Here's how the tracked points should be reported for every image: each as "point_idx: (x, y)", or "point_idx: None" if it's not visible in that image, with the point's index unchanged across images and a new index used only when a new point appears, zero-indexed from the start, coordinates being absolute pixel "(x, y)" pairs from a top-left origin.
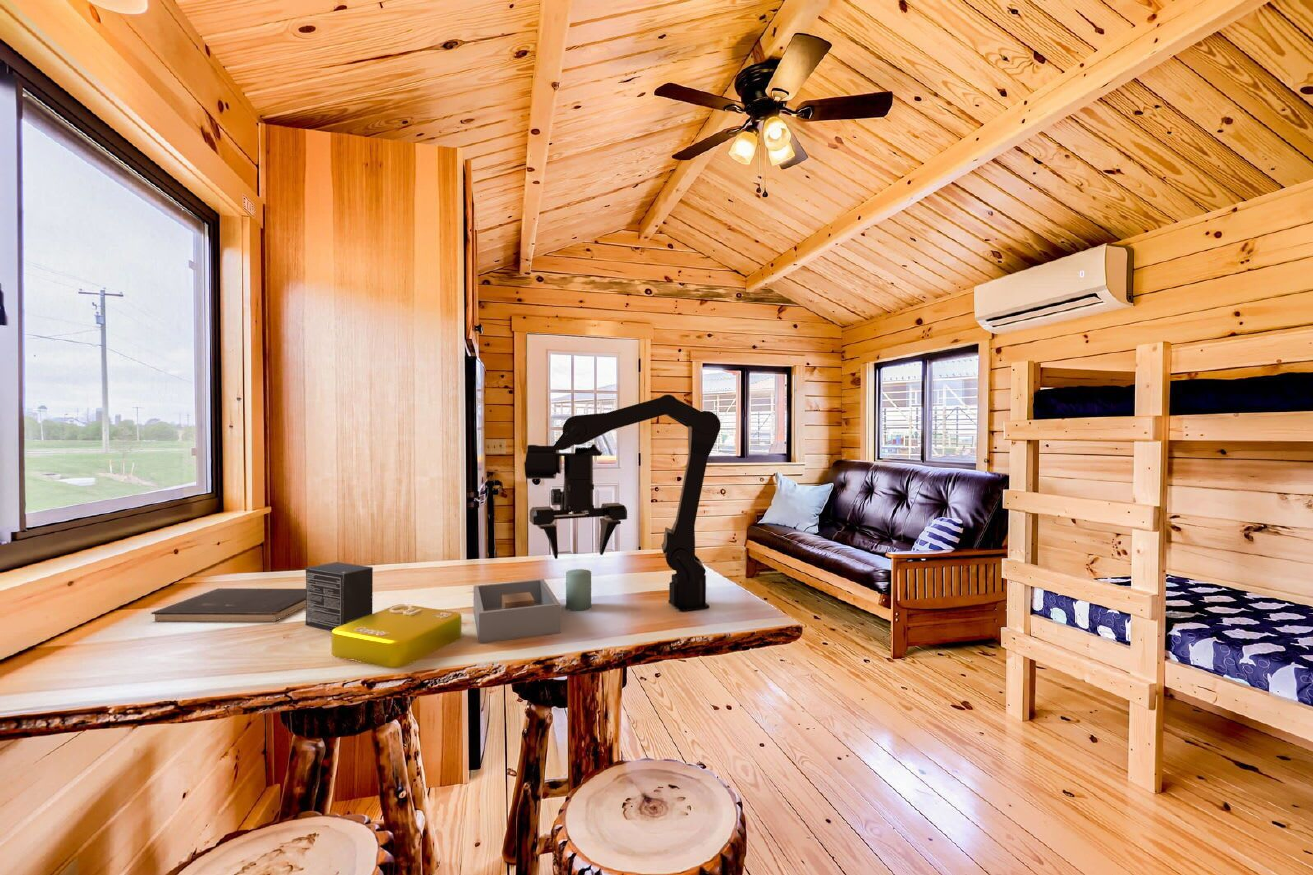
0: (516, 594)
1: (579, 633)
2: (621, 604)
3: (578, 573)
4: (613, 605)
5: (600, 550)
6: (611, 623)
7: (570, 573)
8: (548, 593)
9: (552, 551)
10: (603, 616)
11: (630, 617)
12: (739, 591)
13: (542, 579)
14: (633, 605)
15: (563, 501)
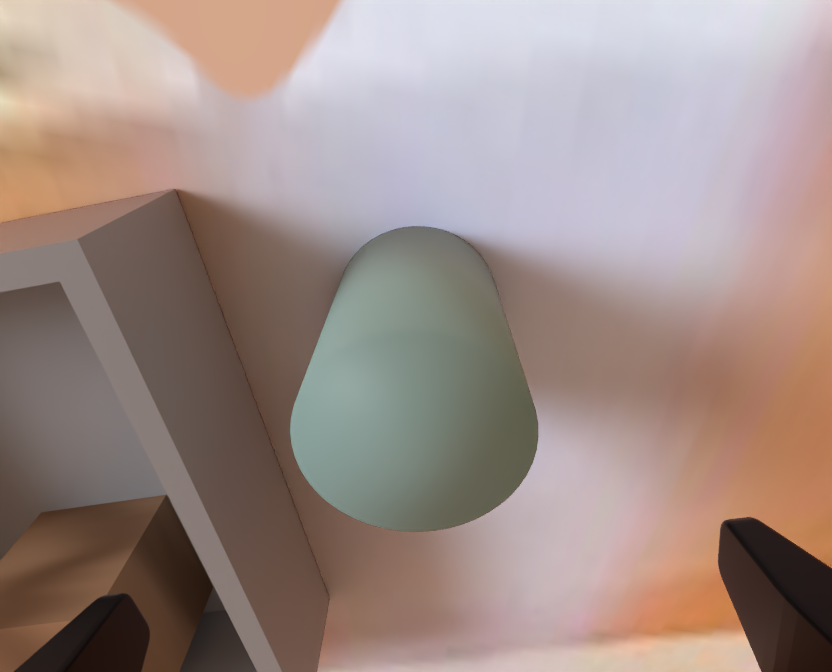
0: (24, 642)
1: (406, 610)
2: (694, 297)
3: (410, 473)
4: (639, 307)
5: (749, 606)
6: (555, 545)
7: (335, 461)
8: (213, 584)
9: (21, 666)
10: (537, 464)
11: (666, 495)
12: None
13: (71, 252)
14: (760, 328)
15: None
